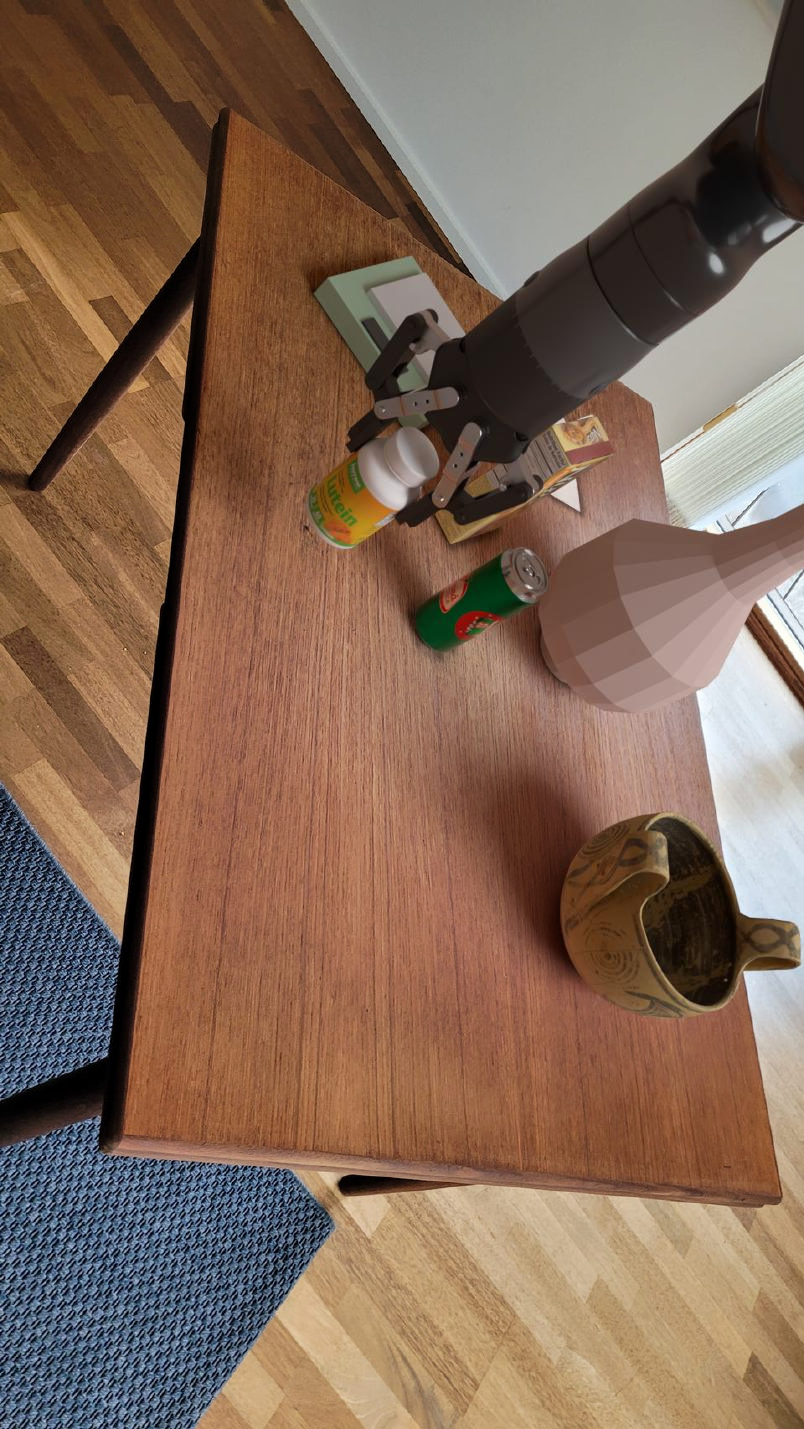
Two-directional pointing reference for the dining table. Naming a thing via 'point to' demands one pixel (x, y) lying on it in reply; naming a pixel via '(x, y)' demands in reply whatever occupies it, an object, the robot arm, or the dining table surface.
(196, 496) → the dining table surface
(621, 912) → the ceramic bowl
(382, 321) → the scale
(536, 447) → the candy box
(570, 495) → the napkin holder
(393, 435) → the supplement bottle
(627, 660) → the vase
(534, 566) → the soda can
